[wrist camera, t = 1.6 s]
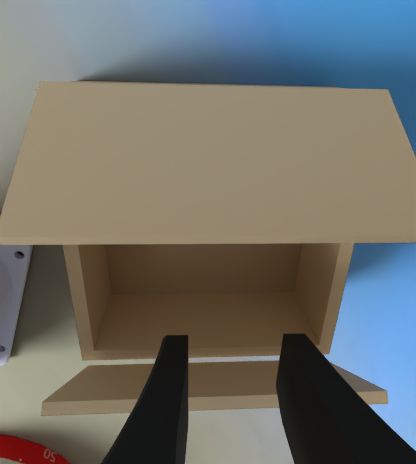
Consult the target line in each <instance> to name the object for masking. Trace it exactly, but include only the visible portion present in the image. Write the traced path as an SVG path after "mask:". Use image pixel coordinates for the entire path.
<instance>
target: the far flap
mask: <svg viewBox="0 0 416 464" xmlns="http://www.w3.org/2000/svg"><path fill="white" fill-rule="evenodd" d="M330 364H331V365H332V366H333V367H334V368H335V369H336V370H337V372H338V373H339V374H340V375H341V376H342V377H343V378H344V379H345V381H346V382H347V383H348V384H349V385H350V386H351V387H352V388H353V389H354V390H355V391H356V393H357V394H358V395H359V396H360V397H361V398H362V399H363V400H364V401H365V402H366V403H367V404H388V395H387V391H386V390H384V389H382V388H380V387H378V386H376V385H374V384H372V383H370V382H368V381H366V380H364V379H362V378H360V377H358V376H356V375H354V374H352V373H350V372H348V371H346V370H344V369H342V368H340V367H338V366H336V365H334V364H332V363H330ZM153 366H154V364H128V365H91V366H88V367H86V368H85V369H84V370H83V371H81V372H80V373H79V374H77V375H76V376H75V377H74V378H72V379H71V380H70V381H69V382H67V383H66V384H65V385H63V386H62V387H61V388H60V389H58V390H57V391H56V392H54V393H53V394H52V395H51V396H49V397H48V398H47V399H46V400H44V401H43V402H42V411H41V416H52V415H81V414H110V413H131V412H132V410H133V408H134V406H135V404H136V403H137V401H138V399H139V396H140V394H141V392H142V390H143V388H144V386H145V384H146V382H147V380H148V378H149V375H150V373H151V371H152V368H153ZM278 366H279V361H242V362H204V363H188V411H196V410H224V409H253V408H279V402H278V397H277V391H276V379H277V372H278Z"/></svg>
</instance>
